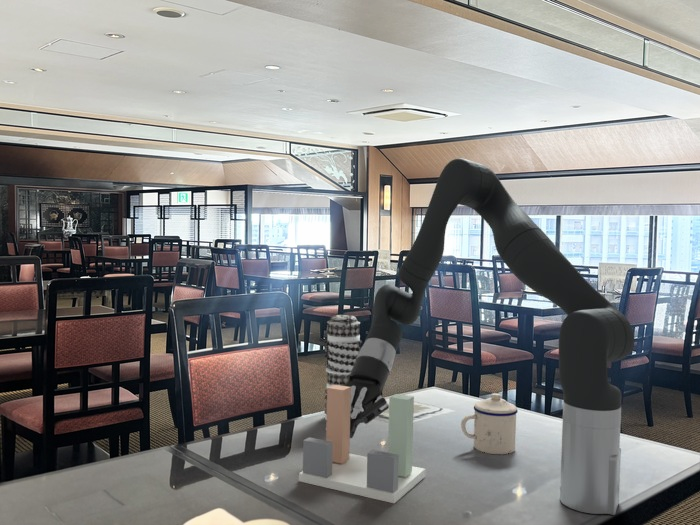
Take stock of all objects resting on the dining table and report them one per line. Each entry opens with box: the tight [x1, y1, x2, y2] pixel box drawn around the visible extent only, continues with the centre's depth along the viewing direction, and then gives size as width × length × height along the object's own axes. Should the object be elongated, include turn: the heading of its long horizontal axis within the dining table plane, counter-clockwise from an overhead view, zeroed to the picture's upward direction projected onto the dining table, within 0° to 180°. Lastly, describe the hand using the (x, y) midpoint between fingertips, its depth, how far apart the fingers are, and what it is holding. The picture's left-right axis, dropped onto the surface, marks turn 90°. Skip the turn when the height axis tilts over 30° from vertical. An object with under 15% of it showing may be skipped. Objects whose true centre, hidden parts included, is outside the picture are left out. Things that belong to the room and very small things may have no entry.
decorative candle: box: [323, 314, 364, 421], centre depth 159 cm, size 9×9×25 cm
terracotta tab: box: [325, 385, 351, 464], centre depth 126 cm, size 4×3×14 cm
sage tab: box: [387, 393, 415, 477], centre depth 119 cm, size 4×3×14 cm
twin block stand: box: [298, 436, 426, 504], centre depth 121 cm, size 19×14×8 cm
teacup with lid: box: [460, 393, 518, 455], centre depth 139 cm, size 12×9×12 cm
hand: (344, 438), depth 128 cm, fingers closed
